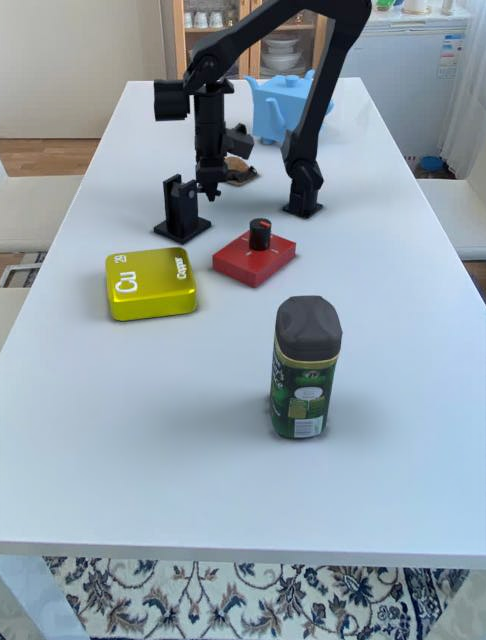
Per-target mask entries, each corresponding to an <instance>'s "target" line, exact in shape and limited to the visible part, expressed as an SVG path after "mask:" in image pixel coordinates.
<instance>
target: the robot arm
mask: <svg viewBox="0 0 486 640" xmlns="http://www.w3.org/2000/svg"><path fill="white" fill-rule="evenodd" d="M303 10H305V11H310V12H313V13H315V14H318V15H320V16H323V17H326V27H325V41H324V45H323V48H322V51H321V54H320V57H319V60H318V63H317V65H316V68H315V72H314V74H313V77H312V80H311V81H312V84H311V87H310V91H309V94H308V97H307V100H306V103H305V106H304V109H303V112H302V115H301V118H300V121H299V123H298V125H297V126H296V128H295V129H294V130H293V131H290V130H288V129H287V130H286V133H285V139H284V142H282V145H281V146H279V150H280V153H281V159H282V162H283V166H284V170H285V173H286V175H287V177H288V178H290V180H291V183H290V188H289V189H290V190H289V196H288V197H289V198H288V203H287V204H285V205H283V206H282V209H281V210H282V211H284V212H285V213H290V214H291V215H295V216H297V217H301V218H303V219H309V218H311V217H312V216H313V215H315V214H316V213H318V212H319V211H320V210H321V209H323V208H324V204H322V203H319V202H318V198H319V191H320V190H321V188H322V186H323V185H324V182H325V179H324V176H323V174H322V171H321V168H320V165H319V163H318V161H317V156H318V149H319V137H320V132H321V131H320V129H321V126H322V123H323V124H324V121H325V117H326V116H327V115H326V112H327V109H328V106H329V104H330V101H331V99H332V98H333V96H334V92H335V89H336V86H337V84H338V81H339V79H340V75H341V72H342V70H343V67H344V64H345V61H346V58H347V55H348V53H349V51H350V50H351V49H352V48H353V46H354V45H355V43H356V42H357V41H358V39H359V38H360V37H361V35H362V33H363V31H364V29H365V27H366V25H367V23H368V22H369V19H370V17H371V14H372V10H373V2H372V0H265V1H264V2H263V3H261V4H260V5H259V6H257V7H256V8H255V9H253V10H252V11H251V12H249V13H248V14H247V15H245V16H244V17H243V18H241V19H240V20H238V21H237V22H236V23H234V24H233V25H230V26H228V27H227V28H223V29H220V30H217V31H214V32H212V33H210V34H208V35H205V36H204V37H202V38H199V40H197V42H196V43H194V45H193V47H192V51H191V60H190V62H189V64H188V66H187V68H185V71H184V72H183V74H182V79H162V78H159V79H158V78H157V79H154V80H153V115H154V120H155V122H176V121H177V122H178V121H185V120H186V119H187V118H188V115H191V96H192V97H193V98H192V99H193V114H194V115H193V116H194V119H193V120H194V140H193V141H194V151H195V163H196V164H195V166H194V168H195V170H194V171H195V180H196V183H197V184H201V185H202V187H203V189H204V192H205V193H204V194H205V196H206V198H207V200H208V202H209V203H214V202H215V201H216V197H217V196H216V192H217V190H218V187H219V184H221V183H225V184H226V183H227V182H228V165H227V163H226V162H225V161H224V160H225V158H227V157H228V154H230V155H231V156H234V157H238V158H240V159H242V160H243V161H249V160H250V157H251V154H252V151H253V149H254V146H255V140H254V137H253V135H251V133H248V131H247V125H246V124H244V123H241V122H238V123H237V124H236V125H235V126H234V127H231V128H228V127H227V122H226V120H225V95H232V94H235V92H236V91H235V85H234V83H233V82H231V81H230V80H229V79H228V76H227V75H226V73H227V72H228V71H229V70H230V69H231V68H232V67H233V65H234V64H235V63H236V62H237V60H238V59H240V57H241V56H242V55H243V54H244V53H245V51H247V50H248V49H250V48H251V47H252V46H254V45H255V44H257V43H259V42H260V41H261V40H263V39H264V38H265V37H267V36H268V35H269V34H271V33H272V32H274V31H275V30H276V29H279V27H281V26H282V25H283V24H285V23H287V21H289V20H291V19H292V18H293V17H295V16H296V15H298V14H299V13H301V12H302V11H303ZM325 115H326V116H325Z"/></svg>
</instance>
